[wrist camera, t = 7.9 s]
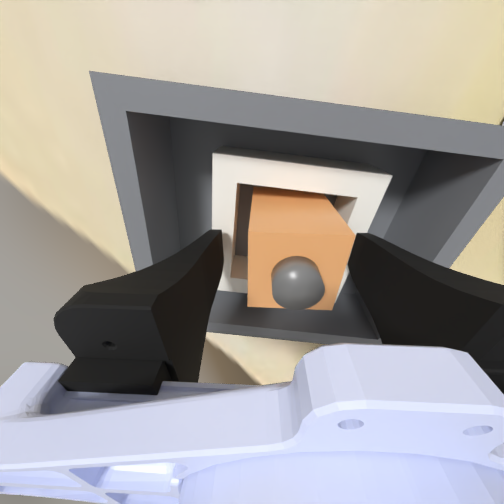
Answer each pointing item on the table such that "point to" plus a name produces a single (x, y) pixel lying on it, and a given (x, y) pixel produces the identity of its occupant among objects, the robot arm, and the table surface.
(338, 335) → the bay
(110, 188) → the table surface
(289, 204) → the plug
